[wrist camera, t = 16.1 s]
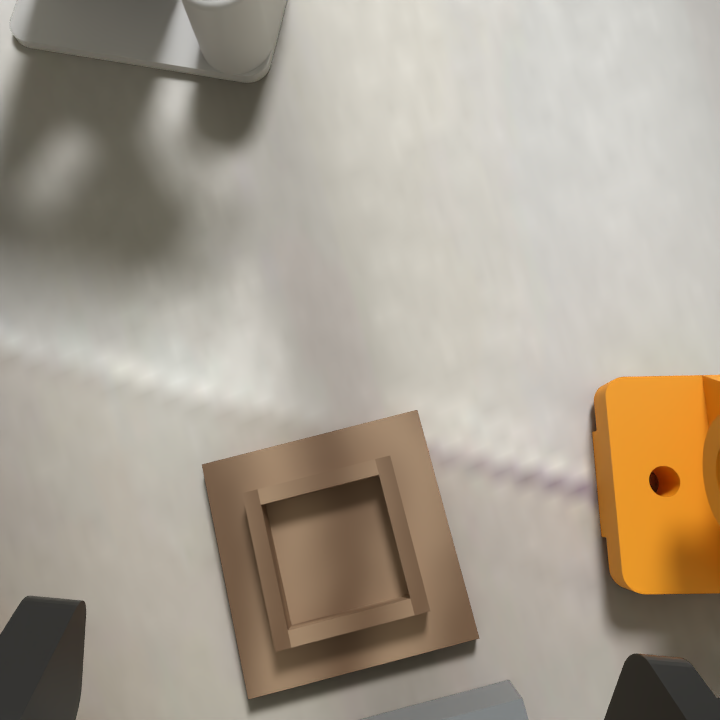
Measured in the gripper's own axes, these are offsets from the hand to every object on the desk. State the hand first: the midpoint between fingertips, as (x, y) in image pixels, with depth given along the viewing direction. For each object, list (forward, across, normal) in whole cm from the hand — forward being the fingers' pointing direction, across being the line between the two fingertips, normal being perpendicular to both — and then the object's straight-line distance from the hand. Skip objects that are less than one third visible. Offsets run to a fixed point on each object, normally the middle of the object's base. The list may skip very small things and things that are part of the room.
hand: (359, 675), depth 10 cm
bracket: (+23, -20, +7) cm, 31 cm away
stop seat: (+23, -3, +13) cm, 26 cm away
